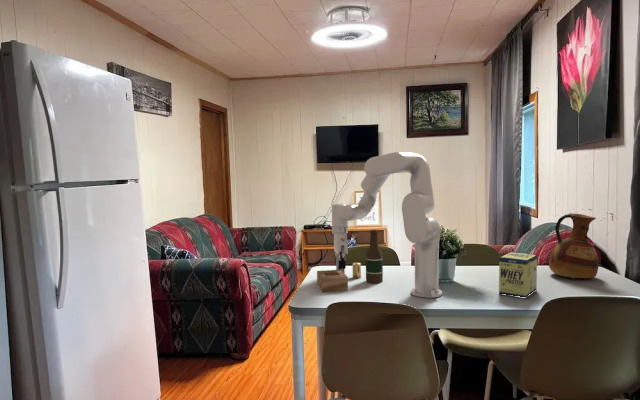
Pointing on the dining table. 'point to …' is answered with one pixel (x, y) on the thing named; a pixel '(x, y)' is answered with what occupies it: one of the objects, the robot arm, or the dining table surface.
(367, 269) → the beer bottle
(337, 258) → the long steel pin
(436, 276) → the robot arm
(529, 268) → the protein box
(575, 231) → the ceramic pitcher
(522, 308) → the dining table surface
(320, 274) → the walnut hole block
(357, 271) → the short brass pin
